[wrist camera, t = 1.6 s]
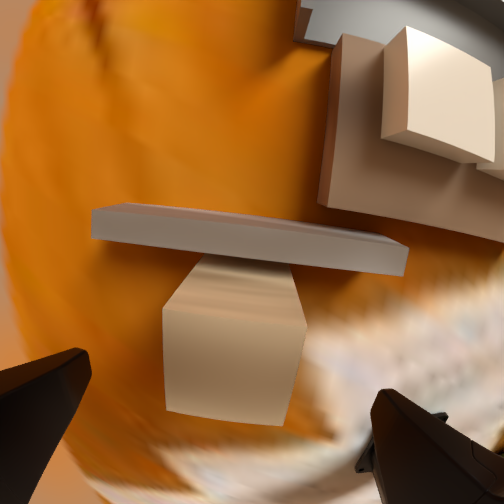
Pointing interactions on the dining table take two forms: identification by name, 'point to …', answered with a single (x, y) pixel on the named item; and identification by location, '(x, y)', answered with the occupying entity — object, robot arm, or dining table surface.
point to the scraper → (239, 301)
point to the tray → (408, 24)
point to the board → (394, 158)
